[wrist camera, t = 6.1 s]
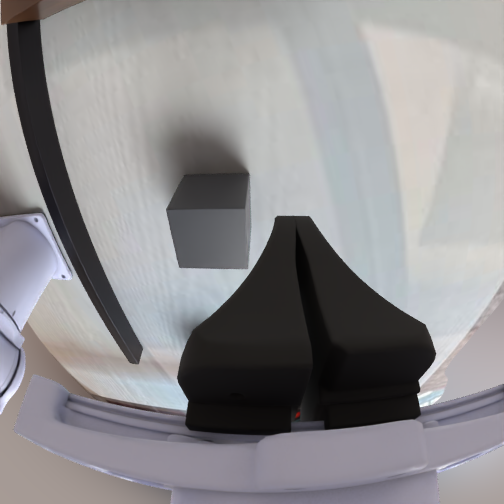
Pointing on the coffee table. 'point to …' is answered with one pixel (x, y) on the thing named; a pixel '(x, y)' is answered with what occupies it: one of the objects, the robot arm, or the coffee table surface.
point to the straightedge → (60, 180)
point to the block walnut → (32, 9)
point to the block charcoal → (211, 221)
